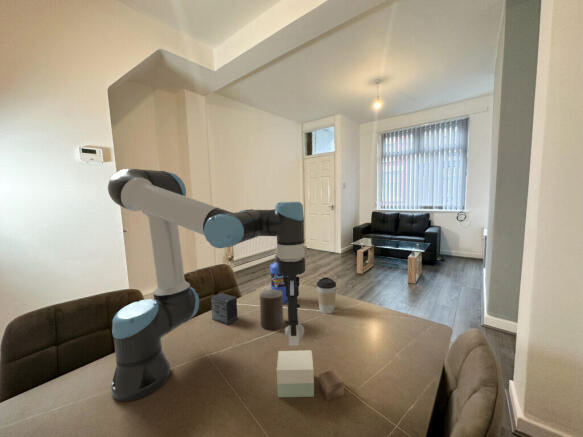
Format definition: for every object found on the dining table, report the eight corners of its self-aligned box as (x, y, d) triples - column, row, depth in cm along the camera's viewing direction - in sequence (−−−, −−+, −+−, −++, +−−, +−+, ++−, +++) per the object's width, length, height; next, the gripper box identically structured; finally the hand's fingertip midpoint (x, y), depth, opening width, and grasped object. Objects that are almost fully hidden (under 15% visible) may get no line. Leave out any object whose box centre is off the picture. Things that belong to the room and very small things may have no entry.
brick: (327, 400, 64) (327, 386, 64) (319, 386, 69) (319, 374, 69) (343, 395, 66) (343, 381, 66) (334, 382, 71) (334, 369, 70)
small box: (238, 318, 109) (237, 296, 108) (227, 325, 104) (226, 302, 103) (222, 313, 115) (221, 292, 114) (211, 319, 109) (210, 297, 108)
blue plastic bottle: (273, 296, 132) (271, 252, 129) (289, 296, 131) (288, 251, 128) (269, 304, 123) (267, 256, 120) (287, 304, 122) (286, 256, 119)
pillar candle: (268, 333, 97) (267, 297, 96) (256, 323, 105) (255, 290, 103) (287, 324, 103) (287, 290, 102) (274, 316, 111) (274, 284, 109)
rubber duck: (288, 346, 64) (287, 318, 64) (282, 333, 71) (281, 307, 70) (307, 342, 66) (306, 314, 65) (300, 330, 72) (299, 304, 71)
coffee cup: (338, 314, 110) (337, 283, 108) (318, 315, 110) (317, 283, 108) (334, 305, 119) (334, 276, 117) (316, 306, 119) (315, 276, 117)
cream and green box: (277, 397, 66) (276, 370, 65) (279, 375, 74) (278, 351, 73) (314, 396, 66) (313, 369, 65) (312, 374, 74) (311, 350, 73)
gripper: (306, 268, 56) (309, 360, 59) (303, 249, 76) (305, 319, 78) (274, 269, 56) (278, 360, 59) (279, 250, 76) (282, 320, 78)
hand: (294, 337), depth 68 cm, fingers closed on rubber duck, 6 cm apart
